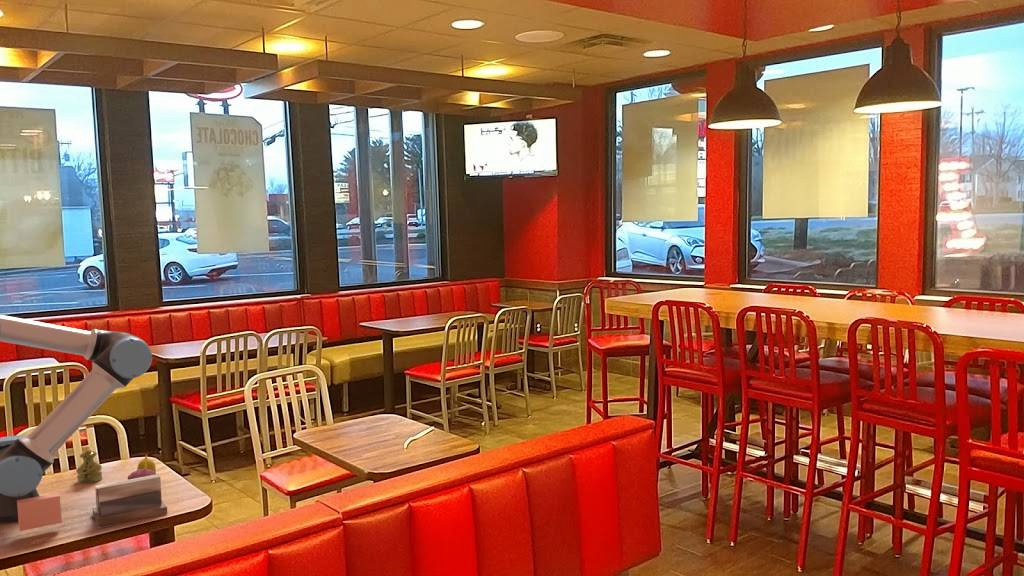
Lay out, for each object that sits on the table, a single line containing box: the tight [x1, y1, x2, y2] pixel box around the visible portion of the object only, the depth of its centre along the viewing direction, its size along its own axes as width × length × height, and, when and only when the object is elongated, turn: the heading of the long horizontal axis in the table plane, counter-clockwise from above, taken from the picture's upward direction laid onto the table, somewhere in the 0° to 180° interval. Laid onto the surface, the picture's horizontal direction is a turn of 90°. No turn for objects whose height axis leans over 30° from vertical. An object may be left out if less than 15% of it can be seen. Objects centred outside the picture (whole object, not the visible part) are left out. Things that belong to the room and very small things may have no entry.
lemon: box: [136, 458, 157, 472], centre depth 264 cm, size 6×6×8 cm
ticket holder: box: [91, 473, 168, 529], centre depth 237 cm, size 12×18×10 cm, turn 125°
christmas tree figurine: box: [76, 449, 103, 485], centre depth 266 cm, size 7×7×10 cm
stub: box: [17, 492, 62, 532], centre depth 223 cm, size 3×10×8 cm, turn 125°
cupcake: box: [127, 453, 157, 480], centre depth 255 cm, size 9×8×12 cm
